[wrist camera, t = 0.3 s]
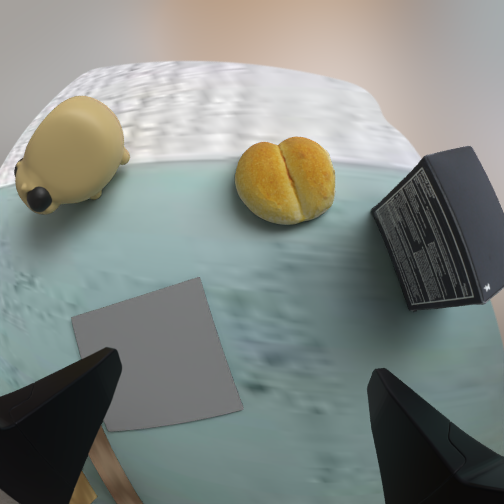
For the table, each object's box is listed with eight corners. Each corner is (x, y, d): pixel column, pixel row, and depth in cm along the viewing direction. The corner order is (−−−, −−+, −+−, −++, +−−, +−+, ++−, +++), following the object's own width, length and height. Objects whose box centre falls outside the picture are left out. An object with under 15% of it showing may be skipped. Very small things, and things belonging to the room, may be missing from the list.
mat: (243, 407, 22) (243, 409, 21) (110, 430, 21) (108, 431, 21) (200, 277, 24) (198, 277, 24) (73, 317, 24) (71, 317, 23)
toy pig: (44, 188, 27) (-12, 150, 16) (115, 120, 28) (75, 62, 18) (72, 247, 25) (2, 216, 15) (156, 168, 26) (111, 102, 16)
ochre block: (97, 496, 19) (65, 527, 11) (70, 492, 19) (37, 518, 11) (78, 464, 20) (40, 491, 12) (52, 461, 20) (15, 483, 12)
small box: (454, 286, 23) (526, 271, 13) (408, 313, 23) (482, 310, 13) (417, 192, 25) (474, 142, 15) (368, 208, 25) (421, 154, 15)
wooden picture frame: (165, 535, 18) (159, 549, 15) (63, 519, 17) (53, 527, 14) (96, 413, 22) (80, 421, 19) (6, 414, 21) (-8, 418, 18)
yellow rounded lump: (230, 156, 27) (225, 133, 23) (318, 143, 27) (325, 120, 23) (245, 236, 25) (242, 222, 21) (341, 218, 25) (354, 203, 21)
